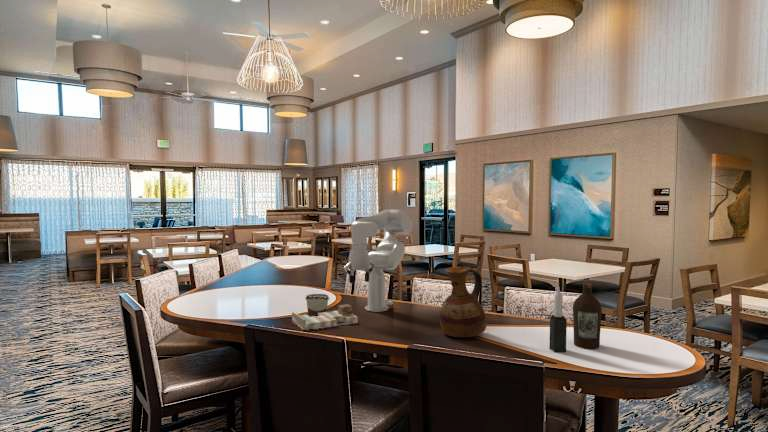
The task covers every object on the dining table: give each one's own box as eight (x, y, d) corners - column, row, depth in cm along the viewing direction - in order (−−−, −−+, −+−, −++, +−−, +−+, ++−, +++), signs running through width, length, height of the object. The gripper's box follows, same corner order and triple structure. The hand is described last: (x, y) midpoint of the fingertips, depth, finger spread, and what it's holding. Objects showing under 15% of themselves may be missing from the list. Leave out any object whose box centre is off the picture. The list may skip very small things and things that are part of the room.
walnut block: (347, 312, 214) (347, 304, 214) (351, 314, 210) (351, 306, 210) (338, 313, 211) (338, 305, 211) (342, 315, 207) (342, 307, 207)
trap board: (343, 315, 219) (343, 305, 219) (357, 322, 205) (357, 312, 205) (292, 322, 205) (292, 312, 205) (303, 331, 192) (303, 319, 192)
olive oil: (571, 340, 181) (572, 281, 180) (599, 343, 177) (600, 282, 176) (572, 347, 171) (573, 285, 170) (602, 351, 167) (603, 287, 166)
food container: (331, 312, 224) (331, 293, 224) (328, 315, 218) (329, 296, 218) (308, 312, 225) (308, 293, 225) (305, 315, 219) (305, 295, 219)
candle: (548, 348, 170) (549, 285, 169) (560, 347, 171) (561, 285, 170) (554, 352, 165) (555, 288, 164) (567, 352, 165) (568, 287, 165)
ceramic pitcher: (431, 331, 193) (432, 264, 192) (469, 326, 201) (469, 262, 200) (455, 344, 175) (456, 271, 174) (495, 338, 183) (496, 268, 182)
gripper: (371, 245, 221) (371, 279, 222) (340, 247, 213) (340, 282, 213) (378, 247, 215) (378, 282, 215) (346, 248, 206) (346, 285, 207)
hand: (359, 282), depth 214 cm, fingers open, 7 cm apart
